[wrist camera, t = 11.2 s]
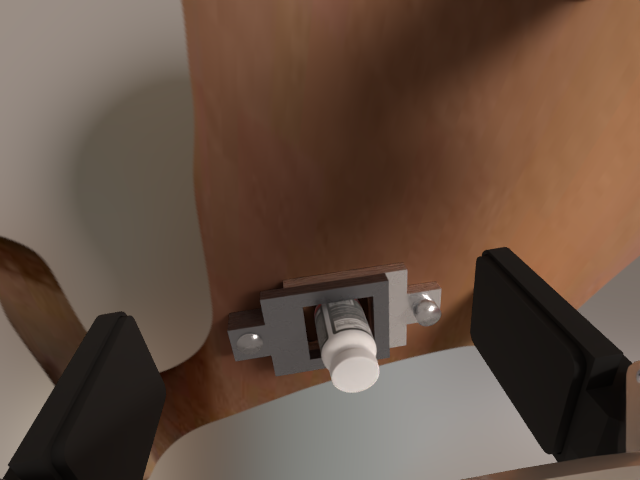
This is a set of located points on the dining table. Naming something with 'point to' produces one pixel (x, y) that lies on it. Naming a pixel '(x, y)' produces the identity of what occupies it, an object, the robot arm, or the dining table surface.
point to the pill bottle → (346, 345)
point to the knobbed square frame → (287, 303)
